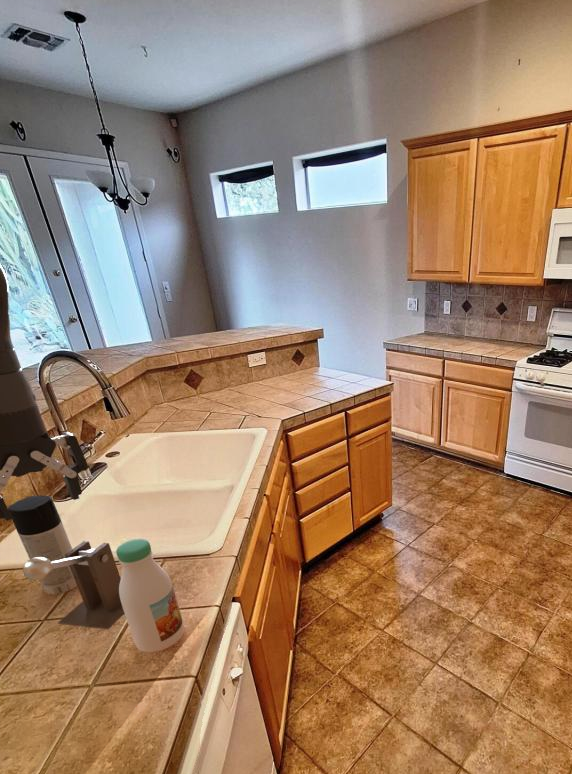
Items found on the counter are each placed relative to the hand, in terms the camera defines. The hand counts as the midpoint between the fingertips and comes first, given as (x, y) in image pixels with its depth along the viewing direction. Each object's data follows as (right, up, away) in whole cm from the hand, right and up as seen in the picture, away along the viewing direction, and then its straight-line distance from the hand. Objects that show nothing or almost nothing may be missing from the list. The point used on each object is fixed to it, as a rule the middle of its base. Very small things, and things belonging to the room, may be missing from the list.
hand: (42, 508), depth 66 cm
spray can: (-14, -18, +22) cm, 31 cm away
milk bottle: (+13, -24, +10) cm, 29 cm away
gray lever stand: (-1, -20, +17) cm, 26 cm away
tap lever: (-2, -11, +7) cm, 13 cm away
